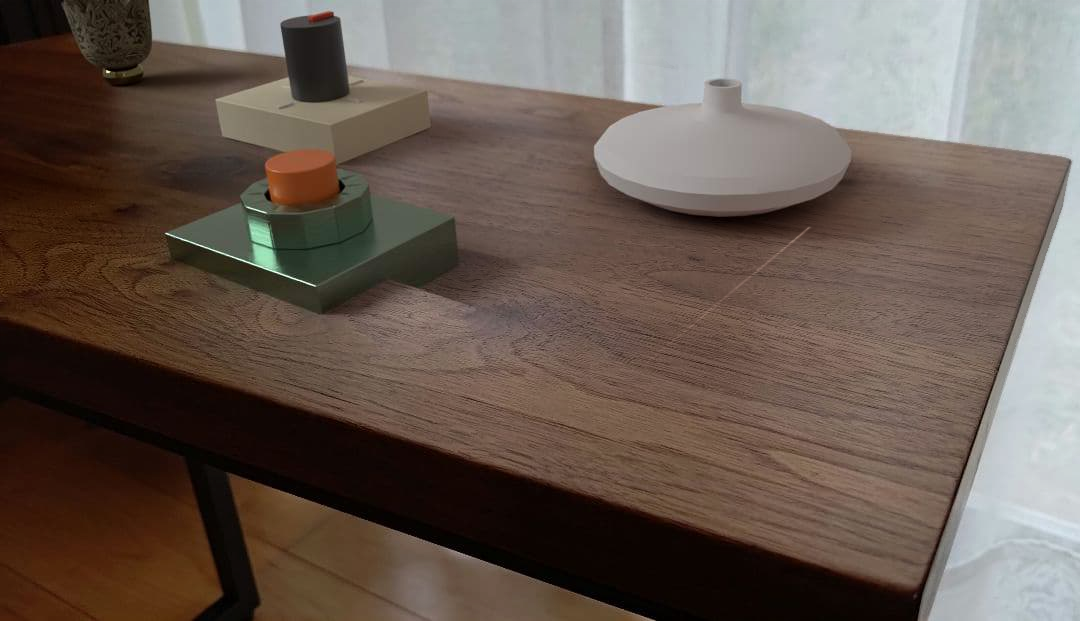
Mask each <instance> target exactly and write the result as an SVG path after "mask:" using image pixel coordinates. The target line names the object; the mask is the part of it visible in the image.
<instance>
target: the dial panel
mask: <svg viewBox="0 0 1080 621" xmlns="http://www.w3.org/2000/svg"><path fill="white" fill-rule="evenodd" d="M348 81H349V88H350V92H349V94H347V95H346V96H344V97H341V98H338V99H334V100H329V101H321V102H303V101H298V100H295V99H293V98H292V95H291V89H290V82H289V76H287V77H284V78H281V79H277V80H274V81H272V82H268V83H265V84H261V85H257V86H255V87H251V88H248V89H245V90H242V91H237V92H235V93H233V94H232V93H231V94H229V95H225V96H221V97H218V98H215V107H216V111H217V116H218V121H219V126H220V132H221V136H222V137H223V138H227V139H231V140H235V141H239V142H243V143H247V144H251V145H254V146H258V147H262V148H265V149H266V148H267V149H270V150H275V151H279V152H283V153H285V152H289V151H295V150H303V149H317V150H324V151H328V152H331V153H332V154H333V155H334V156H335V161H336V166H337V165H340V164H343V163H345V162H348V161H351V160H353V159H356V158H357V157H361V156H363V155H365V154H368V153H370V152H373V151H375V150H378V149H380V148H382V147H386V146H388V145H390V144H393V143H396V142H397V141H398V142H399V141H400V140H402V139H406V138H408V137H411V136H413V135H416V134H417V133H421V132H424V131H425V130H428V129H430V128H431V127H432V126H431V124H432V123H431V114H430V105H429V104H430V103H429V95H428V94H429V93H428V90H427V89H422V88H418V87H411V86H406V85H401V84H395V83H389V82H385V81H378V80H373V79H367V78H362V77H356V76H351V75H348Z"/></svg>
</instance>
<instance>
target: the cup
mask: <svg viewBox="0 0 1080 621" xmlns="http://www.w3.org/2000/svg"><path fill="white" fill-rule="evenodd" d="M61 6H62V9H63V10H64V13H65V16H66V19H67V20H68V24H69V26H70V29H71V32H72V35H73V37H74V39H75V42H76V44H77V46H78V48H79V50H80V52H81V54H82V55H83V57H84V58H85V59H86V60H87V61H88V62H89V63H90V64H92V65H93V66H95V67H97V68H100V69H102V73H101V74H102V75H101V76H102V79H103V80H104V81H105V83H107V84H109V85H112V86H127V85H133V84H135V83H136V84H137V83H138V82H140V81H141V80H142V79H143V78H144V74H145V70H144V68H143V66H142V65H141V63H143V62H144V61H146V60H147V58H148V57H149V55H150V53H151V51H152V46H153V29H152V18H151V8H150V0H63V1H61Z"/></svg>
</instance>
